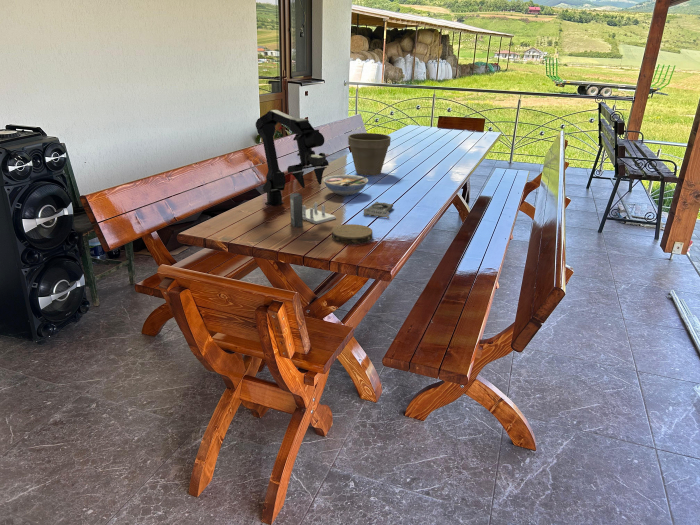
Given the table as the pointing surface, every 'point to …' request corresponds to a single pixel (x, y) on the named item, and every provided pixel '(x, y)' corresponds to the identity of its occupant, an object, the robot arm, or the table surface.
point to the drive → (296, 210)
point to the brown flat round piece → (352, 234)
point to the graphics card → (378, 209)
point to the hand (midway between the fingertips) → (312, 186)
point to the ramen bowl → (345, 184)
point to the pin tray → (316, 215)
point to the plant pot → (368, 152)
